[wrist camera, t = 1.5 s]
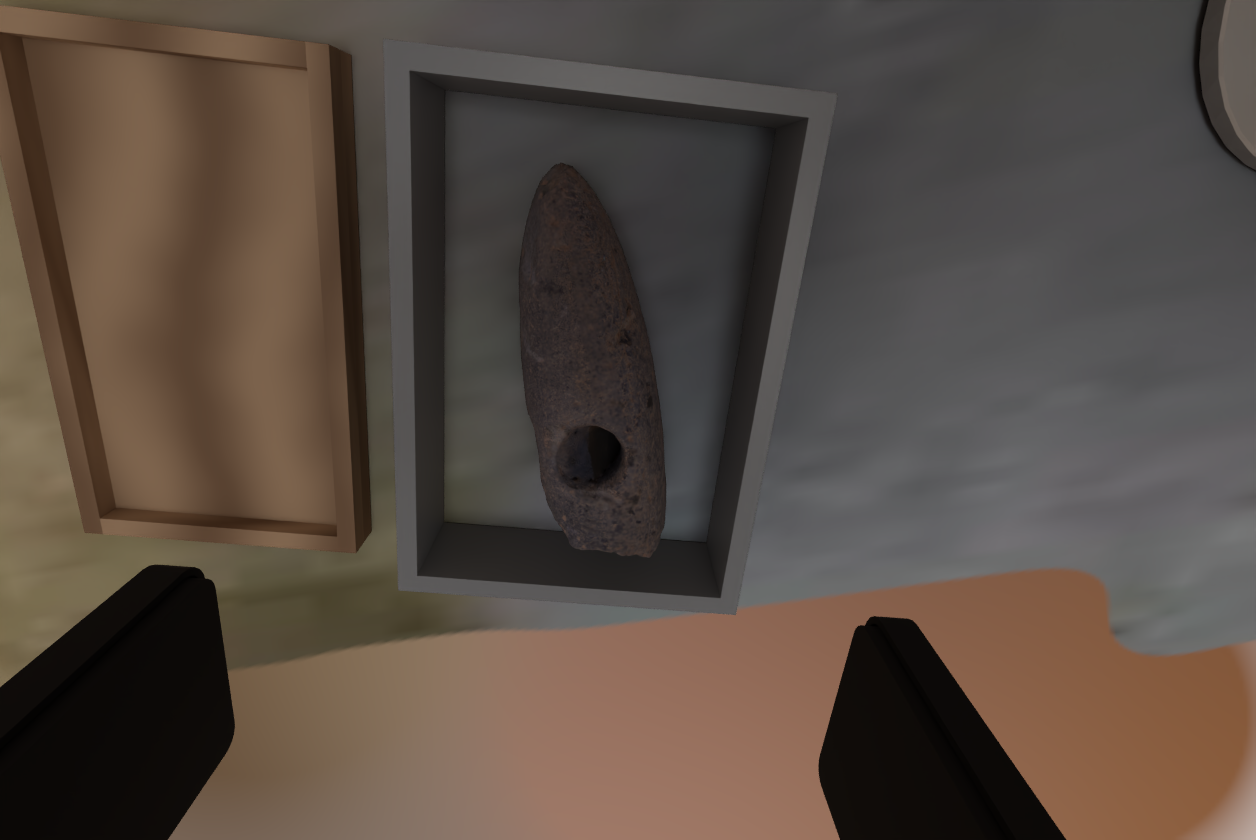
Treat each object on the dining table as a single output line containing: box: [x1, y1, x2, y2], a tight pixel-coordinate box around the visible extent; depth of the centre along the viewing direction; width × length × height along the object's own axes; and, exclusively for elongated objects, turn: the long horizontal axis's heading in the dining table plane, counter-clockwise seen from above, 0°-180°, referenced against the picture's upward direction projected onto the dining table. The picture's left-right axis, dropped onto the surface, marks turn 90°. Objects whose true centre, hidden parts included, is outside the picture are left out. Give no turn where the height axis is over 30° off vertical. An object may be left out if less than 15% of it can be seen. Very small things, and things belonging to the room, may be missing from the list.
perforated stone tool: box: [519, 163, 666, 558], centre depth 25 cm, size 15×5×7 cm, turn 6°
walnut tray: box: [0, 5, 372, 553], centre depth 26 cm, size 12×21×2 cm, turn 174°
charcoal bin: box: [383, 39, 838, 615], centre depth 26 cm, size 15×21×4 cm
